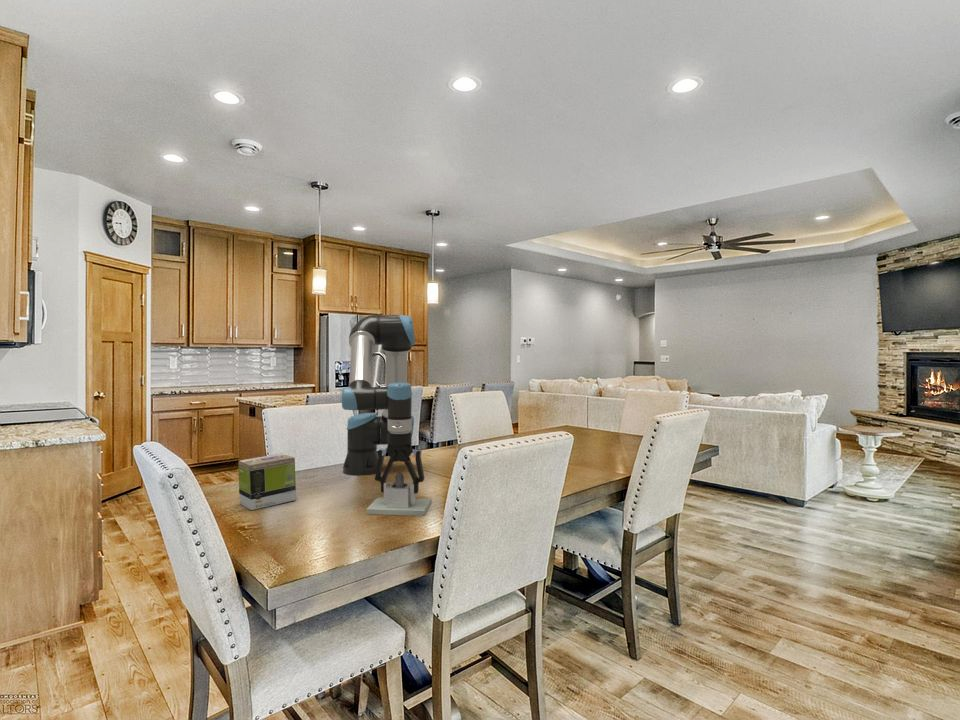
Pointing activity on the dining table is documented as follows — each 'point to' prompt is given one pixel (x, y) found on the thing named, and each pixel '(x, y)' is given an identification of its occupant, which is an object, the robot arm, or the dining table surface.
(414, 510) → the post block
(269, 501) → the tea box
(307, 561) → the dining table surface
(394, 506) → the collar
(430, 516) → the dining table surface
